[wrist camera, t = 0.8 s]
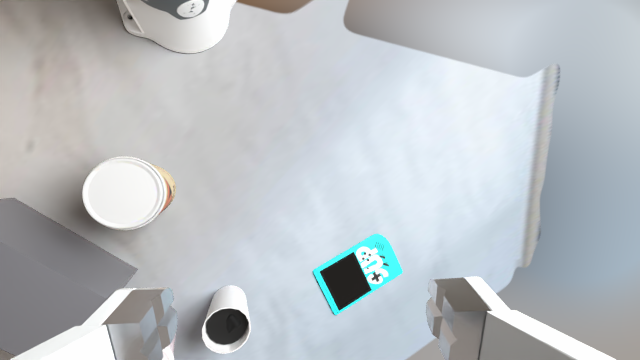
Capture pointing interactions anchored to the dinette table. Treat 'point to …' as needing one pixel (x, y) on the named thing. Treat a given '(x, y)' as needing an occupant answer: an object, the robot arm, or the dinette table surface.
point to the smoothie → (169, 351)
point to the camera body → (49, 277)
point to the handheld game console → (357, 272)
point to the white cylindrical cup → (227, 321)
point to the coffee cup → (127, 192)
